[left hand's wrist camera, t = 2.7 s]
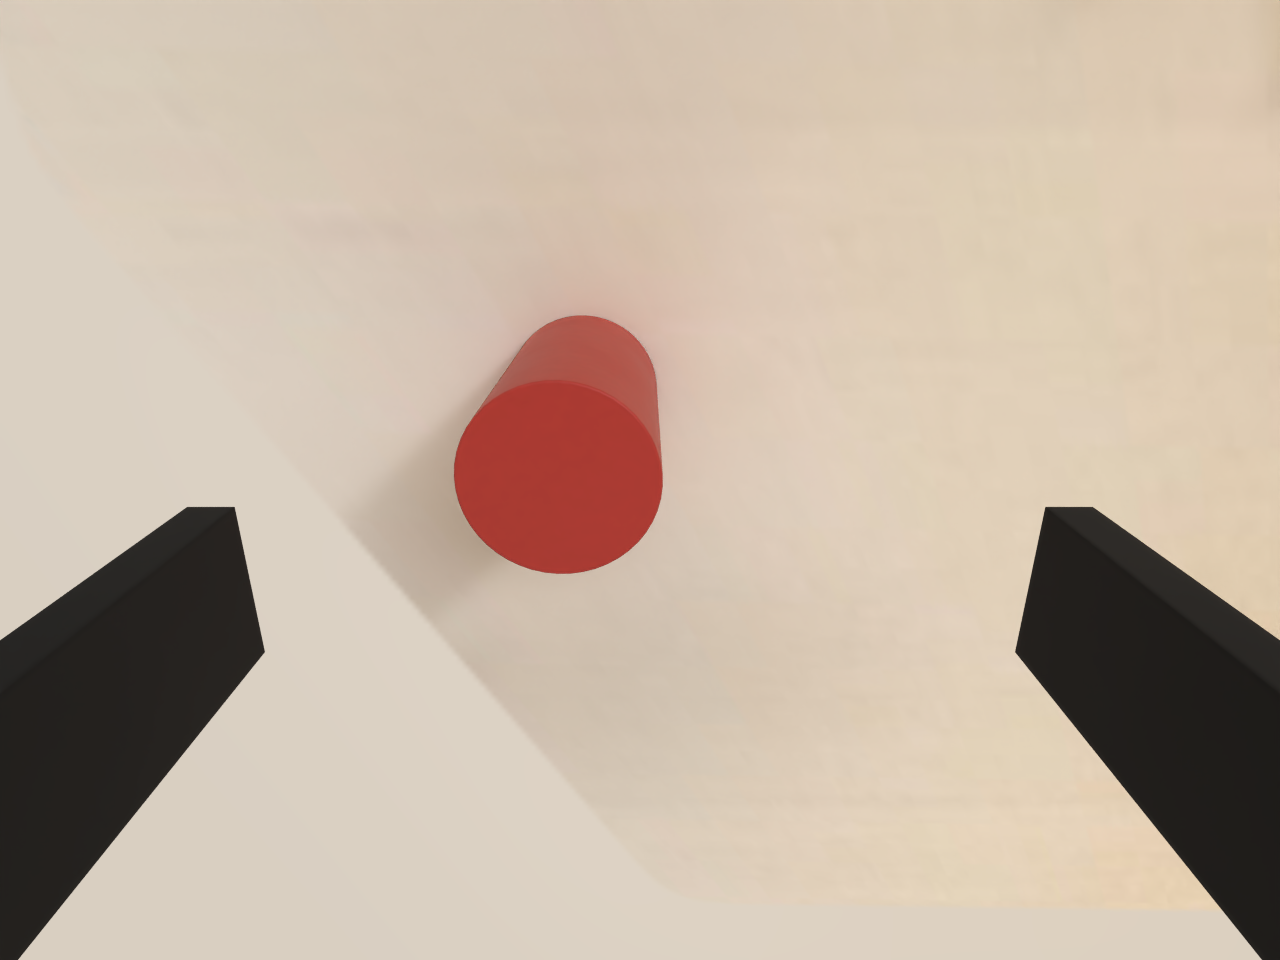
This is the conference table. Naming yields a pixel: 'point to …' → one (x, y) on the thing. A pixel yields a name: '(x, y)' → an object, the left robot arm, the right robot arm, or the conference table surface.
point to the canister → (565, 450)
